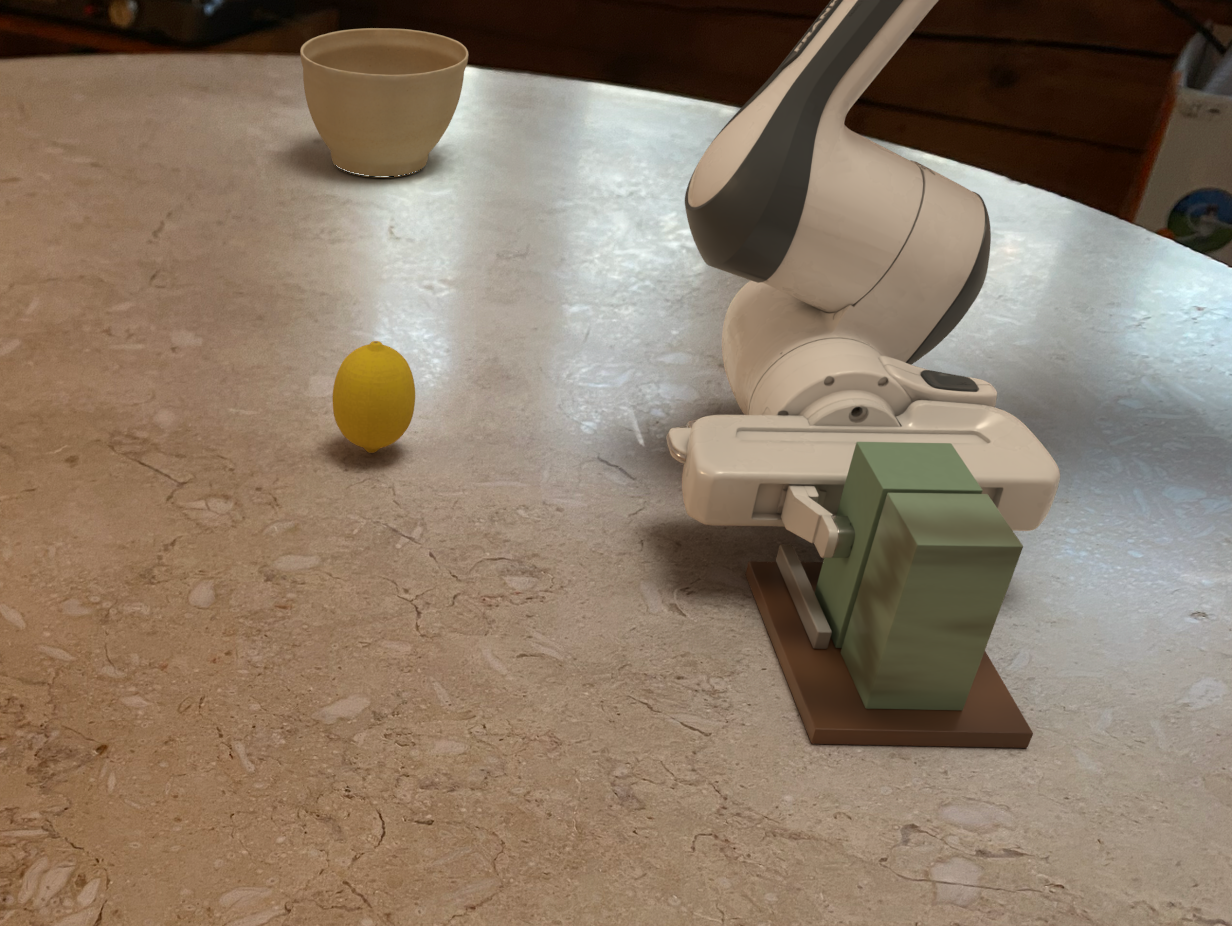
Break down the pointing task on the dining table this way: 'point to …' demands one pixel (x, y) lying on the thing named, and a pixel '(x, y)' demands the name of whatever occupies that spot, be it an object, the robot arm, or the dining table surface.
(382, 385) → the lemon
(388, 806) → the dining table surface
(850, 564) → the back pad
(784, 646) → the mount board
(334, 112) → the planter bowl
